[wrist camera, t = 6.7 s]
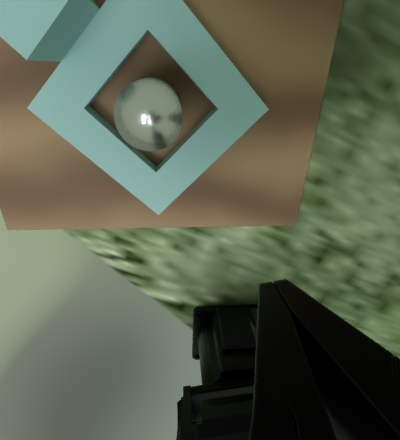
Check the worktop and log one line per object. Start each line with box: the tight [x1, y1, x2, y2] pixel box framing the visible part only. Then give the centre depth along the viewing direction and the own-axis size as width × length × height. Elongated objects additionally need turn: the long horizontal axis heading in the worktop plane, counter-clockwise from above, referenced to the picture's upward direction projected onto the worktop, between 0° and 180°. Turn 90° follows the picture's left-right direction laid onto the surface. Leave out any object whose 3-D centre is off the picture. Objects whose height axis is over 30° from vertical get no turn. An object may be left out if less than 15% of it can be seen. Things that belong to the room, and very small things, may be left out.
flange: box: [0, 0, 269, 215], centre depth 13 cm, size 14×9×5 cm, turn 44°
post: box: [114, 77, 183, 151], centre depth 15 cm, size 3×3×4 cm
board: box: [0, 0, 344, 230], centre depth 16 cm, size 18×20×1 cm
